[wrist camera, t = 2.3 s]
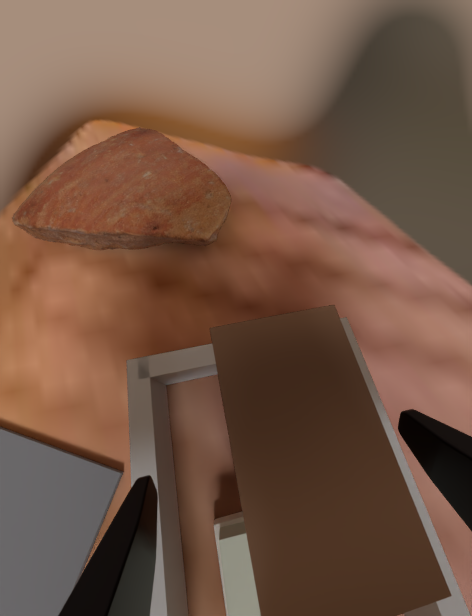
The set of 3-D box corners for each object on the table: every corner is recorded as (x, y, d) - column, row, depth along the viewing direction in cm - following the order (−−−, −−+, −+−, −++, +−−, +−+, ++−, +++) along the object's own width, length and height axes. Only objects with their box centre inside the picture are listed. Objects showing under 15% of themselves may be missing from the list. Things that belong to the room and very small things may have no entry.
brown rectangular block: (292, 467, 16) (451, 596, 5) (238, 481, 15) (268, 661, 4) (267, 372, 18) (334, 304, 7) (220, 382, 17) (209, 327, 6)
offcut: (358, 609, 12) (374, 633, 11) (234, 646, 12) (235, 677, 10) (328, 500, 14) (339, 509, 13) (219, 527, 14) (218, 540, 12)
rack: (421, 604, 13) (496, 677, 10) (170, 692, 12) (144, 820, 8) (323, 335, 19) (346, 317, 15) (147, 371, 18) (126, 360, 14)
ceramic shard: (113, 296, 14) (-10, 208, 19) (162, 328, 20) (58, 254, 25) (252, 133, 18) (115, 94, 23) (259, 202, 24) (150, 159, 29)
